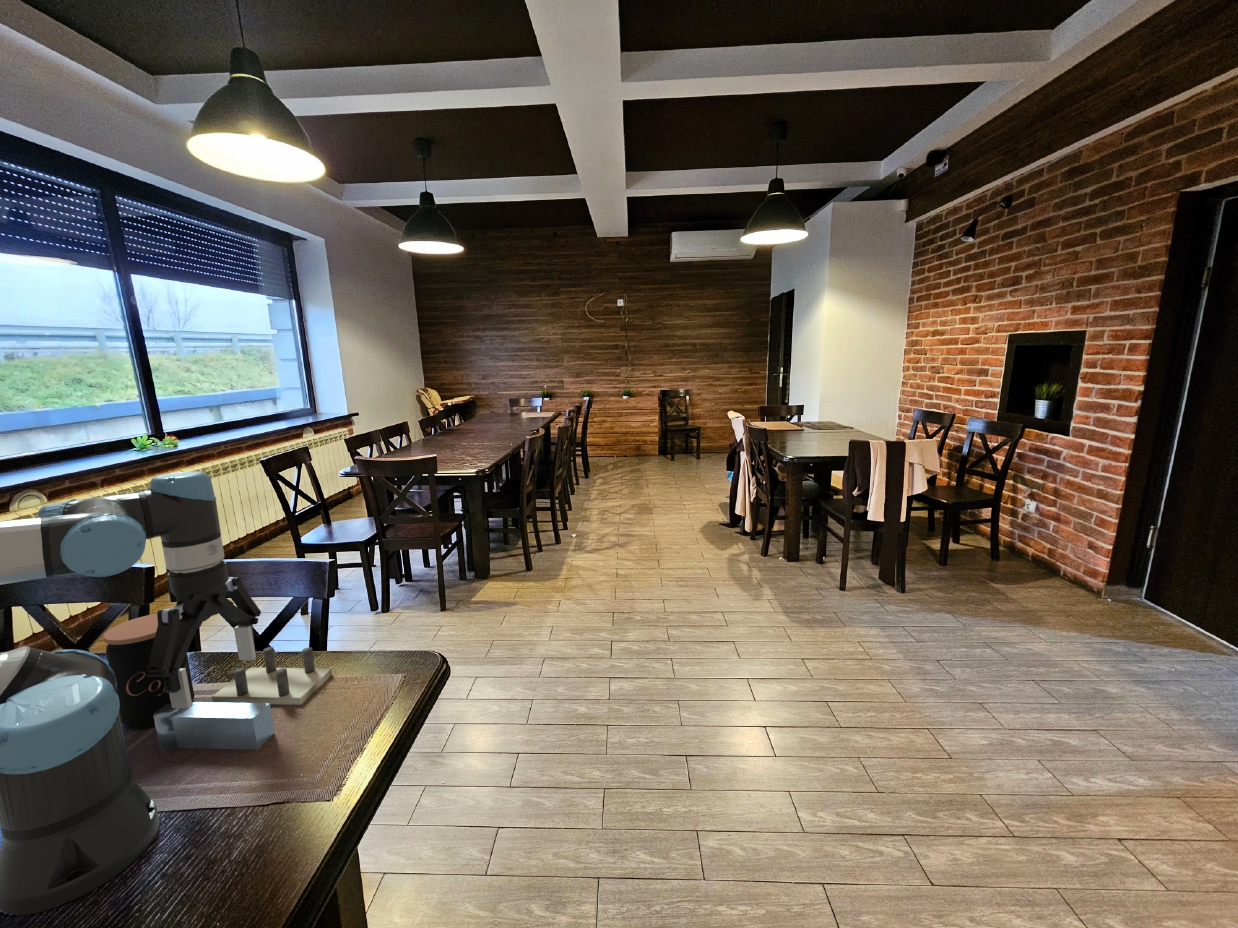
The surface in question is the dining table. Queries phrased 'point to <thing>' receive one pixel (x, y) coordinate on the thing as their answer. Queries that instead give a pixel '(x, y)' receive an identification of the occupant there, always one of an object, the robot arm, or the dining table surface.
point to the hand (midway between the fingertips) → (217, 681)
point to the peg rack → (274, 682)
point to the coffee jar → (137, 671)
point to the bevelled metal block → (214, 726)
